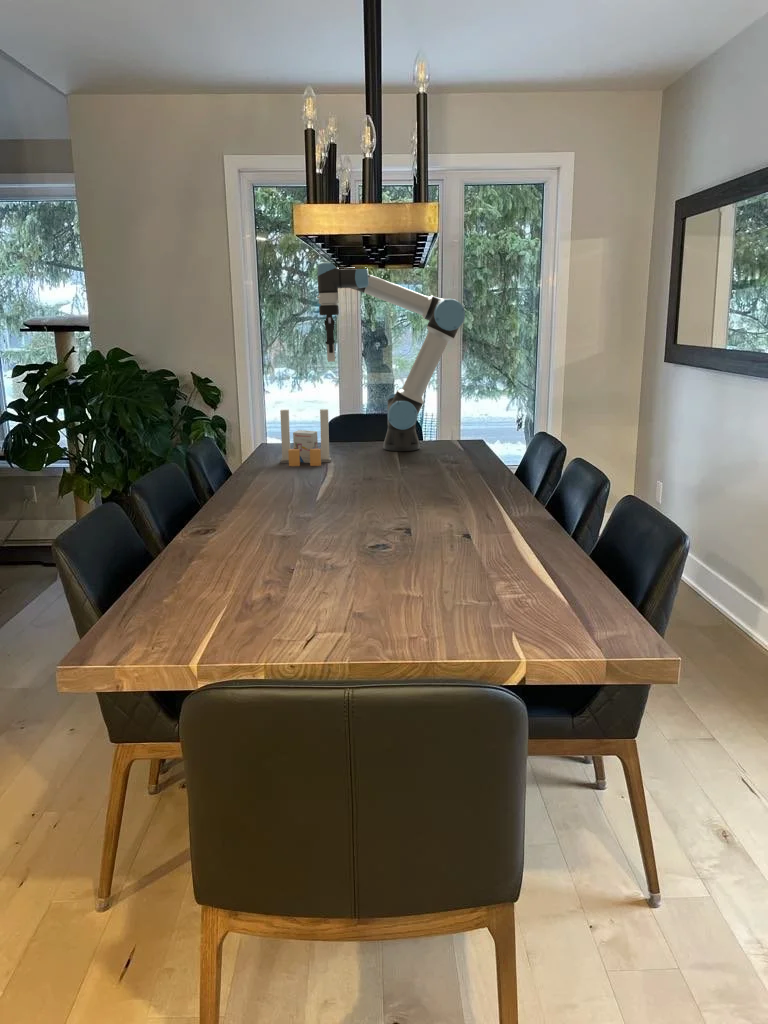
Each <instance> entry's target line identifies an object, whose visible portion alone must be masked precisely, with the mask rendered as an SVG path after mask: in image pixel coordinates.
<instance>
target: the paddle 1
mask: <svg viewBox="0 0 768 1024" xmlns="http://www.w3.org/2000/svg"><path fill="white" fill-rule="evenodd" d="M288 453H289V463H288V466H289V467H300V466H301V462H300V449H294V448H290V449H289V450H288Z"/></svg>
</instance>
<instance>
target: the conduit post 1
mask: <svg viewBox="0 0 768 1024" xmlns="http://www.w3.org/2000/svg"><path fill="white" fill-rule="evenodd" d="M290 428H291V427H290V410H289V409H280V433H281V439H280V440H281V458H280V461H279V462H280V464H289V453H288V450H289V449H291V435H290V434H291V432H290V431H291V429H290Z"/></svg>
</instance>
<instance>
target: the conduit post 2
mask: <svg viewBox="0 0 768 1024" xmlns="http://www.w3.org/2000/svg"><path fill="white" fill-rule="evenodd" d="M319 420H320V422H319V424H320V449H321V463H332V457H330V438H329V437H330V435H329V434H330V433H329V430H330V429H329V408H321V409H320V410H319Z"/></svg>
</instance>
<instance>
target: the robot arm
mask: <svg viewBox="0 0 768 1024" xmlns="http://www.w3.org/2000/svg"><path fill="white" fill-rule="evenodd" d="M332 263H333V262H320V263H318V264H317V286H318V287H317V288H318V289H317V290H318V292H317V293H318V295H317V296H316V298H317V299H318V304H319V306H318V314H319V315H320V316H325V320H324V322H323V323H324V324H323V325H324V327H325V328H324V330H325V332H326V341H325V345H326V356H327V357H326V358H327V362H328V363H329V362H330V363H332V362H336V357H335V342H336V340H335V337H334V336H335V335H334V331H335V324H336V323H335V320H334V317H333V316H337V315H339V314H340V313H339V312H340V311H339V310H340V307H339V305H338V304H339V291H338V290H339V289H351V290H355V291H357V292H359V293H360V292H361V293H364V294H366V295H368V296H372V297H374V298H376V299H379V300H381V301H384V302H386V303H389V304H392V305H394V306H397V307H400V308H402V309H405V310H407V311H410V312H412V313H416V314H417V315H421V316H422V318H423V320H427V321H428V322H427V323H428V324H426V328H427V330H428V332H427V334H426V336H425V338H424V341H423V343H422V345H421V346H420V347H421V348H420V349H419V352H418V354H417V356H416V358H415V360H414V363H413V365H412V366H411V368H410V371H409V372H408V375H407V377H406V380H405V381H404V384H403V386H402V388H400V389H397V390H396V392H395V393H389V394H388V395H387V399H386V401H387V402H386V403H387V414H386V416H387V431H386V434H385V438H384V441H383V449H384V450H385V451H392V452H410V451H417V450H419V449H420V441H419V437H418V434H417V431H416V422H417V420H418V417H419V416H418V415H419V413H420V411H421V409H422V407H423V405H424V399H423V396H424V393H425V391H426V389H427V387H428V386H429V384H430V381H431V379H432V376H433V374H434V372H435V370H436V368H437V366H438V364H439V362H440V360H441V357H442V356H443V353H444V351H445V349H446V347H447V345H448V343H449V342H450V341H452V340H454V339H455V337H456V335H457V333H458V331H459V329H460V327H461V326H462V325H463V323H464V322H465V318H466V311H465V307H464V306H463V304H462V303H461V302H460V301H459V300H457V299H454V298H449V297H448V298H442V297H441V298H440V297H438V296H435V295H430V296H428V295H424V294H422V293H419V292H417V291H415V290H414V291H413V290H411V289H410V288H406V287H404V286H401V285H399V284H396V283H393V282H391V281H388V280H386V279H383V278H380V277H377V276H374V275H372V274H369V269H368V268H367V269H339V268H340V267H337V268H336V267H335V266H334V265H333V264H332Z"/></svg>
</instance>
